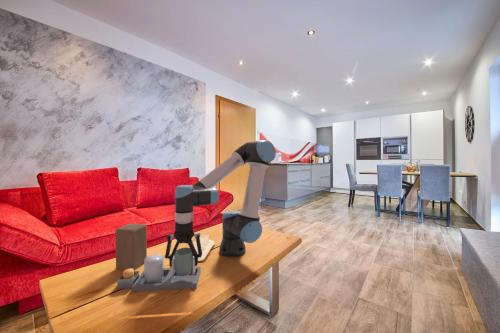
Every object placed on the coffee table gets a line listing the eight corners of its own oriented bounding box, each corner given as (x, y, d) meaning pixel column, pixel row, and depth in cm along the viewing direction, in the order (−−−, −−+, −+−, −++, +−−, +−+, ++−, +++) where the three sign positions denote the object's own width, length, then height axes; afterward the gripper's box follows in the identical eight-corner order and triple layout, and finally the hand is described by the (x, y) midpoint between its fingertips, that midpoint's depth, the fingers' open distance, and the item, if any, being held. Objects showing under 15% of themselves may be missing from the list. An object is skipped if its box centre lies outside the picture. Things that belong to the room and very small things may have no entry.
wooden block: (133, 272, 99) (132, 230, 98) (114, 270, 101) (114, 228, 100) (147, 262, 108) (147, 223, 108) (130, 260, 110) (130, 222, 110)
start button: (135, 277, 90) (135, 268, 90) (131, 282, 86) (131, 273, 86) (125, 277, 90) (125, 268, 90) (121, 283, 86) (121, 273, 86)
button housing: (139, 281, 92) (139, 271, 91) (133, 289, 86) (133, 278, 85) (124, 282, 91) (124, 271, 91) (117, 290, 85) (117, 279, 85)
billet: (165, 275, 95) (165, 253, 95) (160, 285, 87) (160, 262, 87) (148, 276, 94) (148, 254, 94) (141, 286, 87) (141, 262, 86)
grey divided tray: (200, 272, 99) (200, 266, 99) (196, 289, 86) (196, 283, 86) (145, 274, 97) (145, 269, 97) (131, 293, 83) (131, 286, 83)
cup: (171, 273, 92) (171, 251, 91) (187, 267, 97) (187, 245, 97) (180, 280, 86) (180, 256, 86) (196, 273, 92) (196, 251, 92)
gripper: (209, 218, 96) (208, 267, 97) (161, 219, 94) (161, 269, 95) (207, 223, 89) (207, 276, 89) (156, 224, 86) (156, 279, 87)
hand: (183, 273), depth 92 cm, fingers closed on cup, 8 cm apart
